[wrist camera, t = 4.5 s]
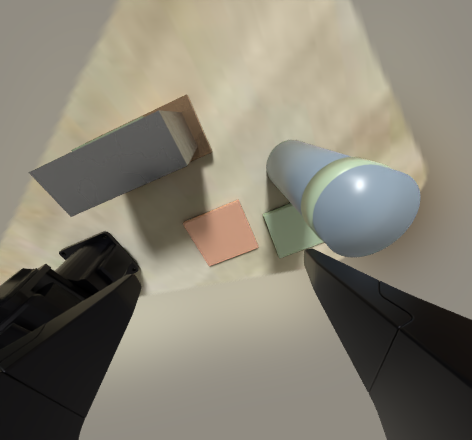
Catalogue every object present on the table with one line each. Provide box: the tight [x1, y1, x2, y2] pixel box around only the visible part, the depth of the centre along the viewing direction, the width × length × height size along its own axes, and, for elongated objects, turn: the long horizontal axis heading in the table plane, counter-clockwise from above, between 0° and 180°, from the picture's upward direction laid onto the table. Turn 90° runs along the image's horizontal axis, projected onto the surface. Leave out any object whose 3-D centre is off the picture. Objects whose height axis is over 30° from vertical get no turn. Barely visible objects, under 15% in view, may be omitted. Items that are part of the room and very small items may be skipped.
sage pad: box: [263, 203, 324, 258], centre depth 25 cm, size 7×7×1 cm
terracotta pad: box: [183, 200, 259, 266], centre depth 24 cm, size 7×7×1 cm
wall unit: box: [29, 95, 212, 217], centre depth 15 cm, size 10×5×9 cm, turn 112°
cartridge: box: [266, 140, 420, 257], centre depth 16 cm, size 5×5×12 cm
